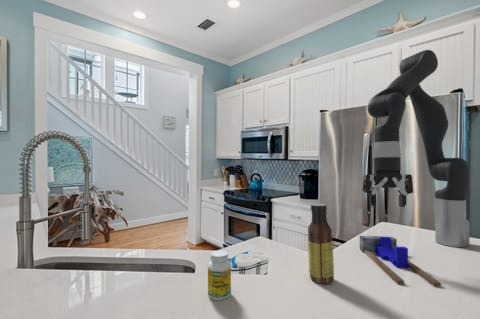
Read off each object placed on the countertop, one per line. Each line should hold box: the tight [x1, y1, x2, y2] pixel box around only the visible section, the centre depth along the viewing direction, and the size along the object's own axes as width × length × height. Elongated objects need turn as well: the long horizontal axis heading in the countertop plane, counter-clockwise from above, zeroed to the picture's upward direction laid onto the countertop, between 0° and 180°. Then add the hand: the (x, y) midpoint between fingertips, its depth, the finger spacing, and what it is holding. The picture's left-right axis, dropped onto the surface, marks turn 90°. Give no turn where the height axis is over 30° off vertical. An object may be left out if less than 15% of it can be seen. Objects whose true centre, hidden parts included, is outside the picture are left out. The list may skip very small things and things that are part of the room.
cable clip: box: [374, 235, 409, 269], centre depth 79 cm, size 12×4×6 cm, turn 172°
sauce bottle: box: [307, 202, 335, 285], centre depth 66 cm, size 6×6×20 cm
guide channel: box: [359, 235, 442, 288], centre depth 76 cm, size 11×26×5 cm, turn 173°
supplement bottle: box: [207, 250, 232, 301], centre depth 58 cm, size 5×5×10 cm
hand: (387, 206), depth 80 cm, fingers open, 8 cm apart
